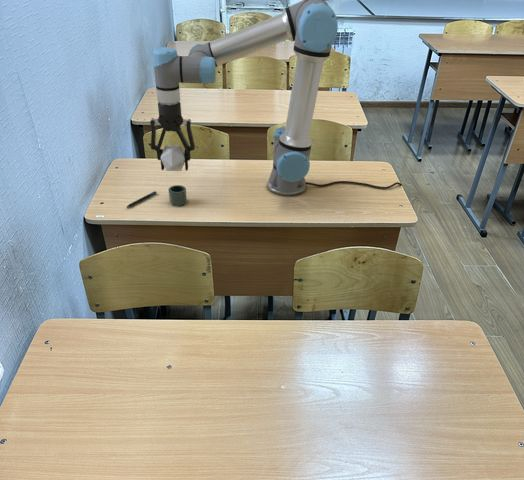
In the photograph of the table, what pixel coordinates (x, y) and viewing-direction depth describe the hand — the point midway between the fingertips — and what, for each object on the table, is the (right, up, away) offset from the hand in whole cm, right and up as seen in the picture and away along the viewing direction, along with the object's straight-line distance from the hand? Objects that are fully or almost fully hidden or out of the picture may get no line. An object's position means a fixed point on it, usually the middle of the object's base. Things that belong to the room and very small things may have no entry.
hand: (174, 168), depth 183 cm
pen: (-14, -9, +9) cm, 19 cm away
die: (0, 0, 0) cm, 1 cm away
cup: (0, -10, +9) cm, 13 cm away
